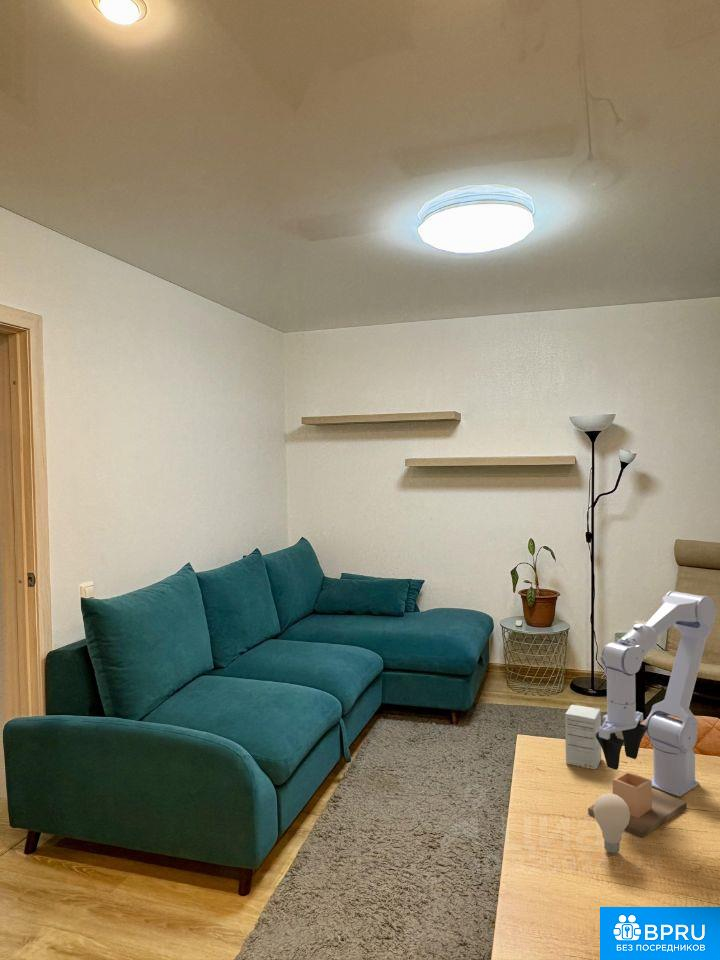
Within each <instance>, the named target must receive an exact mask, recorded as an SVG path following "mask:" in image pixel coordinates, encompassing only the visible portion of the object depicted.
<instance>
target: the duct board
mask: <svg viewBox="0 0 720 960" xmlns="http://www.w3.org/2000/svg"><path fill="white" fill-rule="evenodd" d="M594 805H595V803H594V804H593V805H591V806H589V807H588V808H587V814H589V815H591V816H593V817H595V816H594V811H593V810H594ZM687 808H688V807H687V801H685V800H682V799H680V798H676V797H674V796H671V795H669V794H666V793H664V792H661V791H659V790H657V789H653V788H652V809H651V810H649V811H648V812H646V813H645V814H643V815H642V816H640V817H639V818H637V817H635V816H632V815H630V819H629V824H628V825H627V827H626V828H625V830H624V831H626V832H628V833H631V834H633V835H635V836H637V837H640V838H644V837H645V836H647V835H649V834H650V833H652V832H653V831H654V830H656V829H657V828H659V827H661V826H662V825H663V824H665V823H666V822H668V821H669V820H671V819H672V818H674V817H675V816H676V815H678V814H679V813H681V812H682V811H684V810H686V809H687Z"/></svg>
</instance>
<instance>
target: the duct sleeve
mask: <svg viewBox="0 0 720 960" xmlns="http://www.w3.org/2000/svg"><path fill="white" fill-rule="evenodd" d="M652 789H653V787H652V780H650V779H649V778H646V777H643V776H640V775H638V774H635V773H632V772H629V771H627V770H626V771H625V772H623V773H621V774H620V775H618V776H616V777H614V778H613V779H612V794H615V795H618V796H619V797H621V798H622V799H623V800H624V801H625V803H626V804H627V805H628V807H629V811H630V815H632V816H635V817H637V818H639V817H640V816H642V815H643V814H645V813H646V812H648V811H649V810H651V809H652Z"/></svg>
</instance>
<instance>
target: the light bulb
mask: <svg viewBox="0 0 720 960" xmlns="http://www.w3.org/2000/svg"><path fill="white" fill-rule="evenodd" d="M594 804H595V805H594ZM594 804H593V805H594V810H593V811H594V816H593V817H594V818H595V820H596V822H597V824H598V826H599V828H600V830H601V834H602V838H603V840H604V841H603V842H604V843H603V845H604V850H606V852H608V853H610V854H617V853H619V852H620V851H621V850H620V843H621V841H622V835H623V833H624V832H625V831H626V830H625V828H626V827H627V825H628V824H629V819H630V811H629V807H628V805H627V804H626V803H625V801H624V800H623V799H622V798H621V797H619V796H618V795H615V794H613V793H610V792H609V793H603V794H601V795H599V796H598V797H597V799H595V801H594Z"/></svg>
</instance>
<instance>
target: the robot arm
mask: <svg viewBox="0 0 720 960" xmlns="http://www.w3.org/2000/svg"><path fill="white" fill-rule="evenodd" d="M660 603H661V606H660V607H659V608H658V609H657V611H655V613H654V614H653V615H652V616H651V617H650V618H649V619H648V620H647V622H646V623H637V624H634V625H633V626H632V628H631V629H629V631H628V632H627V633H625V634H624V635H623V636H622V637H621V638H620V639H619V640H617V641H616V642H615V641H613V642H608V643H607V644H606V645H604V647H603V648H602V651H601V655H600V657H599V659H600V664H601V665H602V667H603V670H604V671H603V673H604V675H605V677H606V705H607V706H606V707H607V710H606V711H607V713H606V714H605V715H603V716H602V720H604V722H603V724H602V725H601V727H600V728H599V732H597V733H596V738H597V740H598V742H599V743H600V745H601V751H602V752H603V756H604V759H605V763H606V766H607V768H609V769H613V770H615V771H617V770H619V766H620V758H621V757H620V756H621V751H622V748H623V747H624V753H625V756H626V757H627V758H630V759H633V760H636V759H637V758H638V754H639V750H640V745H641V743H642V739H643V737H644V735H646V737H647V738H648V739H650V741H649V743H650V744H651V745H653V747H652V748H653V749H652V750H653V755H652V756H653V777H651V778H650V779H649V780H652V788H655V789H657V790H661V791H663V792H666V793H669V794H671V795H674V796H677V797H681V796H683V795H685V794H686V793H688V792H689V791H691V790H692V789H694V788H696V787H697V786H698V785H700V782H699V781H698V780H696V755H695V754H696V753H695V751H694V750H693V749H694V748H695V746H696V744H697V741H698V724H699V721H698V719H697V718H696V716H695V715H694V713H692V711H691V709H690V705H691V704H690V703H691V701H692V697H693V693H694V689H695V685H696V681H697V678H698V674H699V669H700V667H701V662H702V659H703V654H704V651H705V648H706V647H705V646H706V643H707V639H708V636H710V635H711V634H712V631H713V629H714V628H713V626H714V623H715V620H716V616H717V608H716V605H715V603H714V600H713V598H711V597H710V596H708V595H699V594H698V595H697V594H692V593H686V592H679V591H676V590H670V591H668V592H667V593H666V594H665V595H664V596H663V597H662V598H661V602H660ZM671 626H673V627H675V628H676V629H677V630H679V631H678V632H679V633H680V639H679V643H678V647H677V651H676V654H675V658H674V662H673V666H672V669H671V674H670V677H669V681H668V684H667V687H666V688H667V689H666V692H665V696H664V699H663V700H662V701H659V702H656V703H654V704H653V705H652V706H651V710H650V712H649V714H648V716H647V717H646V718H645V721H644V713H643V712H640V711H638V710H637V711H636V709H637V708H636V707H637V703H636V700H637V699H636V673H638V672H639V671H640V669H641V667H642V662H643V661H644V659H645V656H646V655H647V654H648V653H650V651H652V649H654V648H655V647H656V646H657V645H658V643H659V636H660V635H661V634H662V633H664V632H665V631H666V630H668V629H670V628H671ZM671 716H672V717H671ZM674 717H675V718H674ZM677 718H678V719H677ZM679 719H680V720H679ZM643 722H644V724H642V723H643ZM619 732H621V733H622V737H623V739H622V738H618V736H617V735H616V734H618V733H619ZM623 745H624V746H623Z"/></svg>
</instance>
